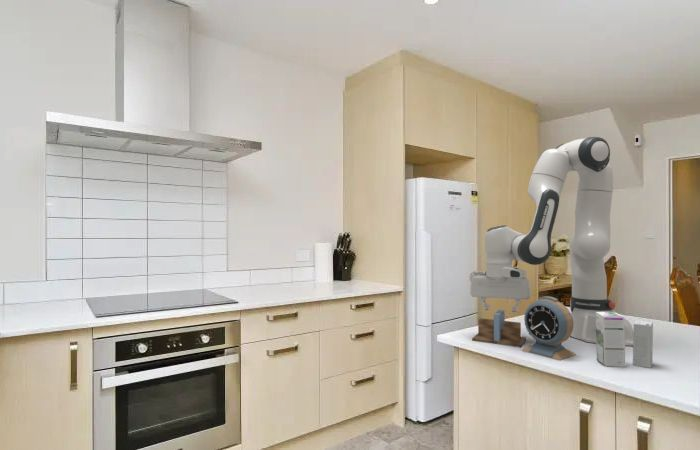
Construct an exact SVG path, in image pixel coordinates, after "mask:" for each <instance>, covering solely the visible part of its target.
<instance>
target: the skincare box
mask: <svg viewBox="0 0 700 450" xmlns="http://www.w3.org/2000/svg"><path fill="white" fill-rule="evenodd" d="M653 334H654V322H653V321H649V320H646V321H645V320H638V319H636V320H635V321H634V323H633V346H632V348H633V349H632V365H633V366H637V367H641V368H648V369H649V368H651V367H652V364H653V351H654V350H653V347H654V345H653V340H654V338H653V336H654V335H653Z"/></svg>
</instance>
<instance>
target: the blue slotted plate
mask: <svg viewBox="0 0 700 450" xmlns="http://www.w3.org/2000/svg"><path fill="white" fill-rule="evenodd" d="M505 312H506V311H505V309H498V310H497V311H496V312H495V313H493V320H494V341H500V340H501V330H502V329H504V321H506V320H505V319H506V318H505Z"/></svg>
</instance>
